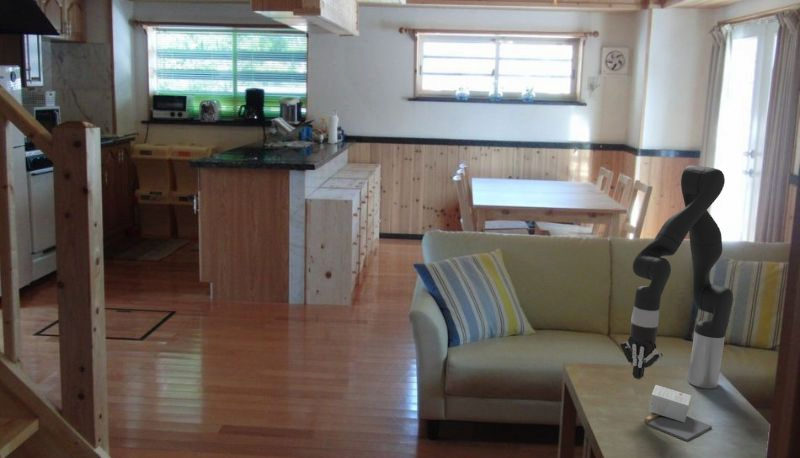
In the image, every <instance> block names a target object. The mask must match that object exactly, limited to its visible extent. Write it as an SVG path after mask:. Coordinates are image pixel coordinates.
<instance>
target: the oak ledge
mask: <svg viewBox="0 0 800 458" xmlns="http://www.w3.org/2000/svg"><path fill="white" fill-rule="evenodd" d="M661 416H662V415H659V414H655V413H653V414H650V415H648V416H647V417H644V423H646V424H648V423H649V422H651V421H653V420H655V419H657V418H659V417H661Z"/></svg>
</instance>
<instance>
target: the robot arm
mask: <svg viewBox="0 0 800 458" xmlns="http://www.w3.org/2000/svg"><path fill="white" fill-rule="evenodd" d="M680 178H681V179H680V188H681V193H682V198H683V202H684V206H685V207H684V208H682V209H681V210H679V211H678V212H676V213H675V214H673V215H671V217H669V218H668V219H667V220H666V221H665V222H664V223H663V224H662V226H661V228H660V229H659V231H658V232H657V235H655V237H654V238H653V240H652V241H651V242H649V243H648V245H646V246H645V247H644V248H643V249H642V250H641V251H639V252H638V254H637V255H636V256H635V257H634V260H633V263H632V271H633V273H634V274H635V276H636V277H639V278H642V279H646V280H650V284H649V285H640V286H638V287H637V289H636V290H635V294H634V296H635V297H634V304H633V309H632V312H631V318H630V319H631V320H630V327H629V338H628V339H627V340H626V341H625V342H621V343H620V348H621V350H622V352H623V354H624V356H625V358H626V361H627V362H628V363H630V364H632V366H633V367H632V368H633V369H632V376H633V378H634V379H635V380H641V379H642V378H643V377H644V376H645V370H646V369H647V368H649V367H651V366H653V365H654V364H655V363H656V362H657V361H659V360H661V359H662V357H663V353H662V352H659V351H658V349H657V344H656V340H657V337H658V336H657V335H658V328H659V321H660V306H661V298H662V296H663V295H662V294H663V292H664V290H665V288H666V287H665V286H666V285H667V283H668V280H669V278H670V276H671V273H672V266H671V264H670V262H669V260H668V259H666V258H665V257H668V256H669V257H670V256H674V255H675V254H676V253H677V251H678V249H679V248H680V246H681V245H682V243H683V241H684V240H685V238H686V236H687V235H688V236H689V247H690V254H691V262H692V273H693V275H692V277H693V278H692V280H693V281H692V282H693V284H692V287H693V288H692V291H693V292H692V297H693V304H694V306H695V309H697V310H700V311H702V312H706V313H709V314H711V315H712V317H711V319H710V320H707V319H706V320H699V321H697V322H696V323H695V327H694V332H693V333H694V334H693V342H692V346H691V347H692V348H691V355H690V361H689V367H688V368H689V369H688V376H687V382H688V384H690V385H692V386H694V387H698V388H702V389H717V388H718V386H719V385H718V384H719V379H720V373H721V365H722V359H723V352H724V346H725V345H724V344H725V339H726V332H727V329H728V327H729V323H730V322H729V321H730V316H731V313H732V309H733V303H734V294H733V291H732V289H730V288H729V287H725V286H721V285H718V284H714V283H711V281H710V272H711V270H712V268H713V267H714V266H715V264H716V263H717V262H718V260H719V259H720V258H721V255H722V253H723V237H722V233H721V229H720V227H719V226H718V223H717V222H716V221H715V219H714V218H713V217H712V215H711V213H710V212H709V211H708V210H709V208H710V207H711V206H712V204H713V203H714V202H715V201H716V200H717V199H718V198H719V196H720V195H721V194H722V191H723V190H724V186H725V182H726V181H725V179H726V178H725V174H724V173H723V171H722V170H720V169H719V168H714V167H708V166H702V165H695V164H693V165H688V166H686V167H685V168H684V170H683V171H682V174H681V177H680ZM650 355H651V358H650V359H649V356H650Z"/></svg>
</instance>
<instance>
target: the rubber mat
mask: <svg viewBox="0 0 800 458" xmlns="http://www.w3.org/2000/svg"><path fill="white" fill-rule="evenodd" d="M647 426H649V427H652V428H654V429H657V430H659V431H661V432H663V433H665V434H668V435H671V436H673V437H675V438H679V439H681V440H682V441H686V442H688V441H690V440H692V439H694V438H695V437H697V436H699V435H701V434H703V433H706V432H707V431H709V430H710V429H712V427H713V426H712V425H710V424H708V423H705V422H703V421H700V420H698V419H695V418H692V417H690V416H687V417H686V420H685V423H684V422H681V421H678V420H674V419H671V418H668V417H665V416H661V417H659V418H657V419H655V420H653V421H651V422H649V423H647Z"/></svg>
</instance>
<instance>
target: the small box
mask: <svg viewBox="0 0 800 458" xmlns="http://www.w3.org/2000/svg"><path fill="white" fill-rule="evenodd" d="M691 401H692V395H691V394H689V393H688V394H687V393H683V392H681V391H677V390H674V389H672V388H671V389H670V388H669V387H666V386H665V387H664V386H661V385H658V384H655V385H654V387H653V390H652V393H651V395H650V399H649V405H648V407H647V408H648V409H647V411H648V413H649V412H650V413H653V414H659V415H662V416H665V417H668V418H671V419H674V420H678V421H681V422H684V423H685V420H686V417H688V413H689V410H690V405H691Z"/></svg>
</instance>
